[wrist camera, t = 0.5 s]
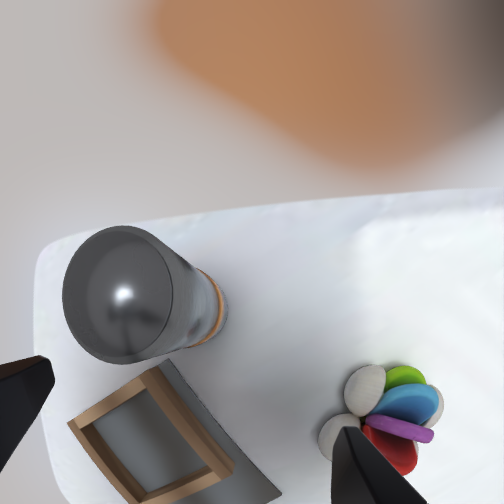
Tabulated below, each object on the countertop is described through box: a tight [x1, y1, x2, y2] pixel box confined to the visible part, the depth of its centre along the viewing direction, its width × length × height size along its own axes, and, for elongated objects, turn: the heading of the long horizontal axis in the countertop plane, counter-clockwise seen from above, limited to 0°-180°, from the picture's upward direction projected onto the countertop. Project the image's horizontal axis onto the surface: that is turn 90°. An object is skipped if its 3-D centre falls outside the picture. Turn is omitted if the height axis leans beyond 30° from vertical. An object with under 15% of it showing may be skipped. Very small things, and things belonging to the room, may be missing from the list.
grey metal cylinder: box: [62, 226, 228, 365], centre depth 17 cm, size 5×5×13 cm
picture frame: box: [67, 359, 282, 504], centre depth 19 cm, size 11×15×2 cm
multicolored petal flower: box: [318, 365, 444, 476], centre depth 17 cm, size 8×10×7 cm
